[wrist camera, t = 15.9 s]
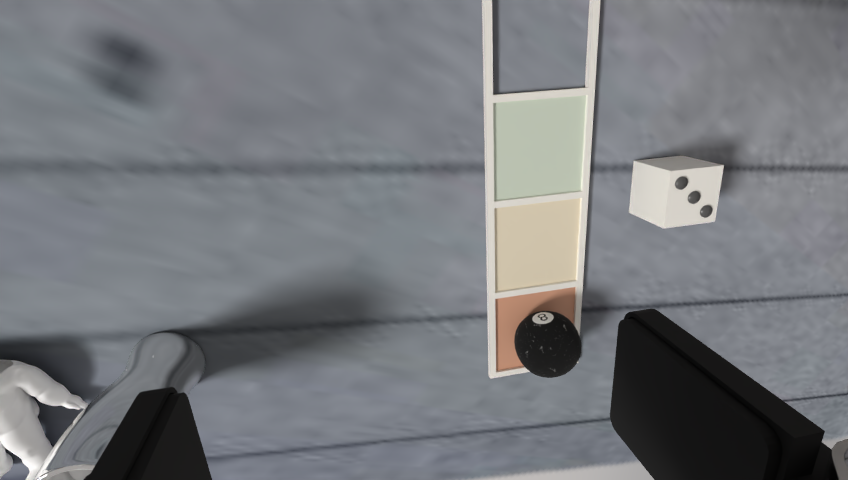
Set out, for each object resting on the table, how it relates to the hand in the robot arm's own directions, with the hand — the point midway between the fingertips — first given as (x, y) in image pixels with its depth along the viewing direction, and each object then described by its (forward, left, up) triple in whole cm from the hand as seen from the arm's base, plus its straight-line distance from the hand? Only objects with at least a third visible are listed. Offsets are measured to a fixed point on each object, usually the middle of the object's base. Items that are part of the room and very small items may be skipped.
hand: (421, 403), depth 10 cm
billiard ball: (+18, +16, -30) cm, 39 cm away
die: (+5, +28, -30) cm, 42 cm away
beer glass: (+16, -18, -31) cm, 39 cm away
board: (+5, +16, -30) cm, 35 cm away
